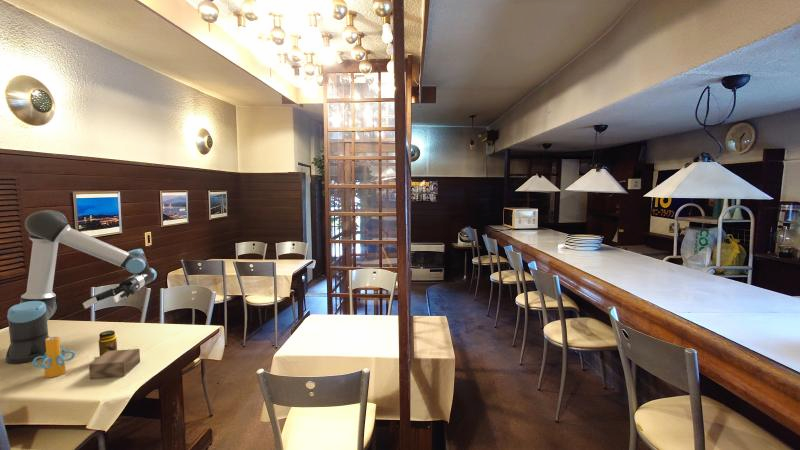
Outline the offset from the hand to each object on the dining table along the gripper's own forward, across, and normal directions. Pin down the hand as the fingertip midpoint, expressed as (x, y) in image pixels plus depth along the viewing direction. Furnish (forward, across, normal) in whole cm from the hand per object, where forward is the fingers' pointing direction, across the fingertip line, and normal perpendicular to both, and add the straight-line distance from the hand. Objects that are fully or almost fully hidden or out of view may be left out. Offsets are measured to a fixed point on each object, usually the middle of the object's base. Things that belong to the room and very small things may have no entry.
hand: (99, 302), depth 158 cm
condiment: (+9, -1, -24) cm, 25 cm away
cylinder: (+22, +8, -20) cm, 30 cm away
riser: (+20, -13, -24) cm, 34 cm away
